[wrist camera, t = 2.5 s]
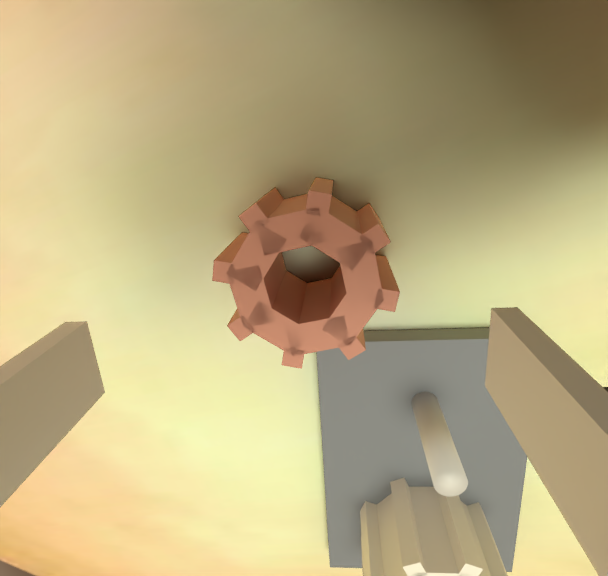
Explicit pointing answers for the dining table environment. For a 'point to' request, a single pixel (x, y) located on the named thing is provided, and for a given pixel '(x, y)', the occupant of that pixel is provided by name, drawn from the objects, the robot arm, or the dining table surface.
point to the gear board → (418, 457)
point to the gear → (297, 293)
